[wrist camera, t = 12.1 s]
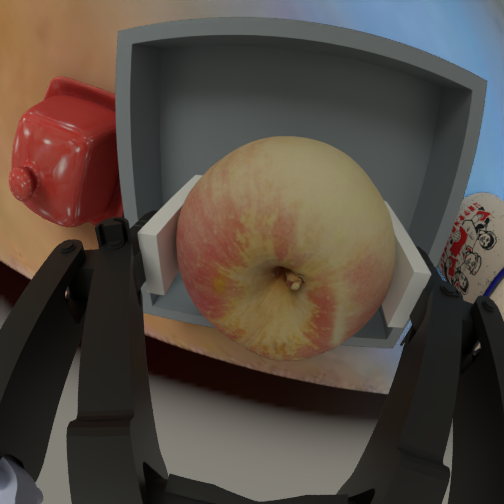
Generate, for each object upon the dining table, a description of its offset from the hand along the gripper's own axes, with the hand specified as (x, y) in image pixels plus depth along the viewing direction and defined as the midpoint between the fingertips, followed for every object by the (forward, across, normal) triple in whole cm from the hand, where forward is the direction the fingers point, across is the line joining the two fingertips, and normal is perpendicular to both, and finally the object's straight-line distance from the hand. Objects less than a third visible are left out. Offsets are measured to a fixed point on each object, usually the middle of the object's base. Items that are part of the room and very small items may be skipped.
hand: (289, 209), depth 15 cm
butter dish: (+5, -17, +2) cm, 18 cm away
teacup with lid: (+5, +16, -3) cm, 18 cm away
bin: (+5, 0, 0) cm, 5 cm away
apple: (+1, 0, 0) cm, 1 cm away
